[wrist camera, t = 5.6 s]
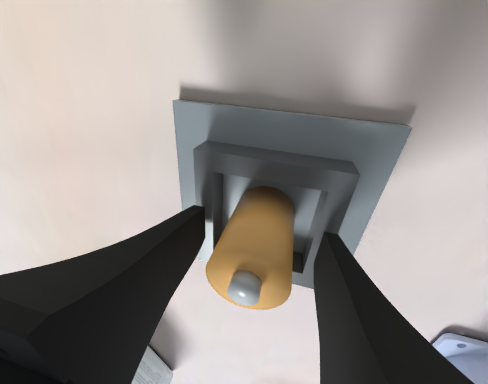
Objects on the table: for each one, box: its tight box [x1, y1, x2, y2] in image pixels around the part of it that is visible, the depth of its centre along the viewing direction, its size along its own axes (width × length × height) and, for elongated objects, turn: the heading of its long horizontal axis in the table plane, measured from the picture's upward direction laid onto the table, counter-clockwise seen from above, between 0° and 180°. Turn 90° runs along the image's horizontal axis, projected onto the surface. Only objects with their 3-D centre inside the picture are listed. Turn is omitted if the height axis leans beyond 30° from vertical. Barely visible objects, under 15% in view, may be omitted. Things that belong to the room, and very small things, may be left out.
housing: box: [173, 99, 412, 289], centre depth 12 cm, size 11×11×2 cm
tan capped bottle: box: [206, 186, 295, 310], centre depth 10 cm, size 3×3×6 cm
